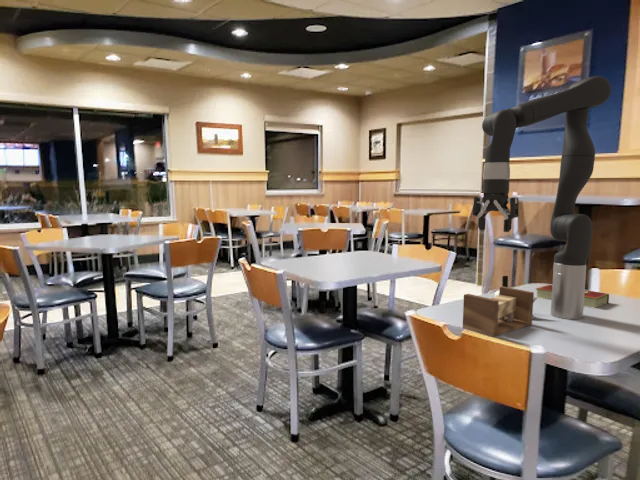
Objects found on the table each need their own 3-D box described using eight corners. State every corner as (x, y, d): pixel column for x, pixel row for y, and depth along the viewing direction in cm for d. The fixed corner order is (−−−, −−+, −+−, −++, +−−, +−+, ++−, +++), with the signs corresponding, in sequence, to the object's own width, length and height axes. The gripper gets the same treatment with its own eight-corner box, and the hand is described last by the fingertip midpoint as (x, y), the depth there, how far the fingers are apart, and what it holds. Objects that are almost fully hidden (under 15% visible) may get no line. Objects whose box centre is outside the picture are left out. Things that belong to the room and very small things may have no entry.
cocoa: (498, 307, 157) (495, 273, 157) (517, 307, 153) (514, 272, 153) (491, 312, 149) (488, 276, 149) (511, 312, 145) (508, 275, 145)
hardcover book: (549, 293, 178) (549, 283, 177) (608, 304, 162) (609, 292, 161) (535, 298, 170) (535, 287, 170) (595, 309, 154) (596, 297, 154)
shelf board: (496, 319, 126) (496, 305, 126) (479, 316, 130) (479, 302, 129) (515, 310, 136) (516, 297, 135) (499, 307, 139) (500, 294, 139)
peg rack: (501, 317, 143) (503, 286, 142) (531, 324, 135) (533, 292, 134) (462, 327, 132) (463, 294, 130) (492, 336, 123) (494, 301, 122)
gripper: (469, 178, 140) (467, 229, 141) (510, 177, 128) (508, 233, 130) (483, 178, 144) (481, 228, 146) (525, 177, 132) (522, 231, 134)
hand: (494, 230), depth 138 cm, fingers open, 8 cm apart
